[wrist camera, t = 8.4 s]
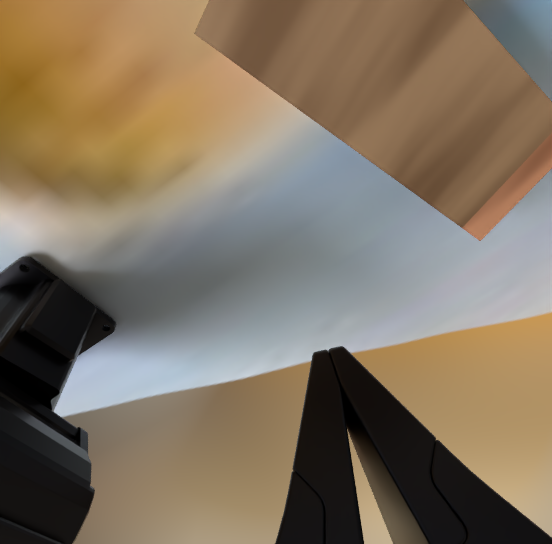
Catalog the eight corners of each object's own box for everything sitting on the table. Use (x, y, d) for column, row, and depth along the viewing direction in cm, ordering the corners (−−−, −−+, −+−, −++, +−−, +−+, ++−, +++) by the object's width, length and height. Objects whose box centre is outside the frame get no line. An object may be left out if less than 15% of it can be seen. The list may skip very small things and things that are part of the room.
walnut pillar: (439, 210, 22) (198, 36, 15) (518, 120, 19) (274, -130, 13) (480, 241, 18) (194, 33, 12) (582, 136, 16) (295, -191, 10)
